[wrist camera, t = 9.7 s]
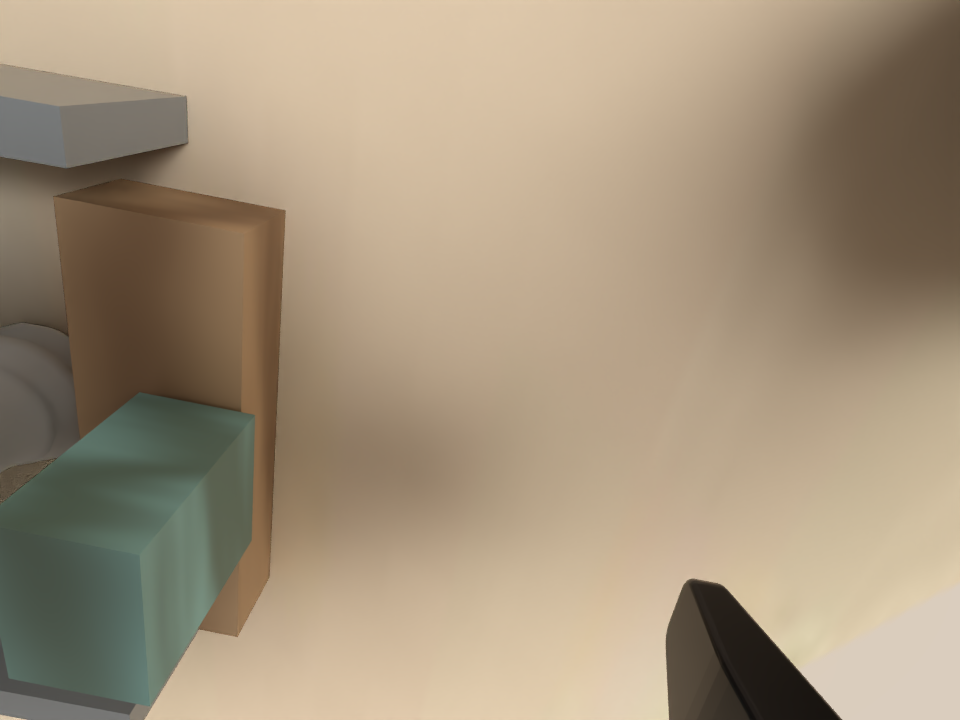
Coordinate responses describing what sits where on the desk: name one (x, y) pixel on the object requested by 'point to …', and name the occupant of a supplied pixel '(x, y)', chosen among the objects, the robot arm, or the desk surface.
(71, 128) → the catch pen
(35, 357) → the rook chess piece
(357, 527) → the desk surface
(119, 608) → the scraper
